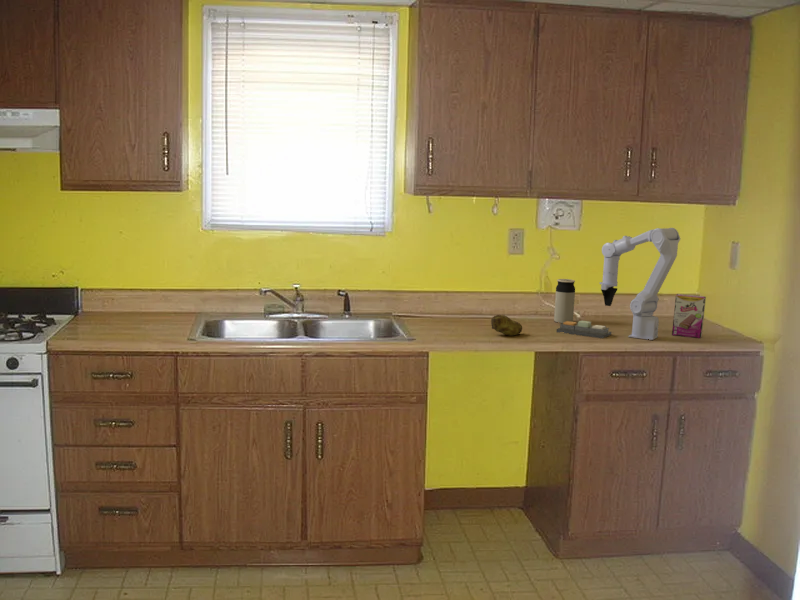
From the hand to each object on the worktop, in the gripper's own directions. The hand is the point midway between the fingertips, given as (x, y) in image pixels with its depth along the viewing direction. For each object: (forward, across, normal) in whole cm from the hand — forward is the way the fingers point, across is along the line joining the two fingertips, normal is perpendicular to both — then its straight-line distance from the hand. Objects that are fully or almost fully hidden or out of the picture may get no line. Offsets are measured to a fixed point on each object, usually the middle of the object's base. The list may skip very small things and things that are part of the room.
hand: (608, 305), depth 334 cm
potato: (+10, +38, -27) cm, 48 cm away
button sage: (+7, +14, -5) cm, 16 cm away
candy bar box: (+10, -9, +30) cm, 33 cm away
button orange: (+8, +14, -10) cm, 19 cm away
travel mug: (+10, -4, -20) cm, 23 cm away
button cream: (+8, +14, +2) cm, 16 cm away
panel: (+10, +14, -4) cm, 18 cm away
